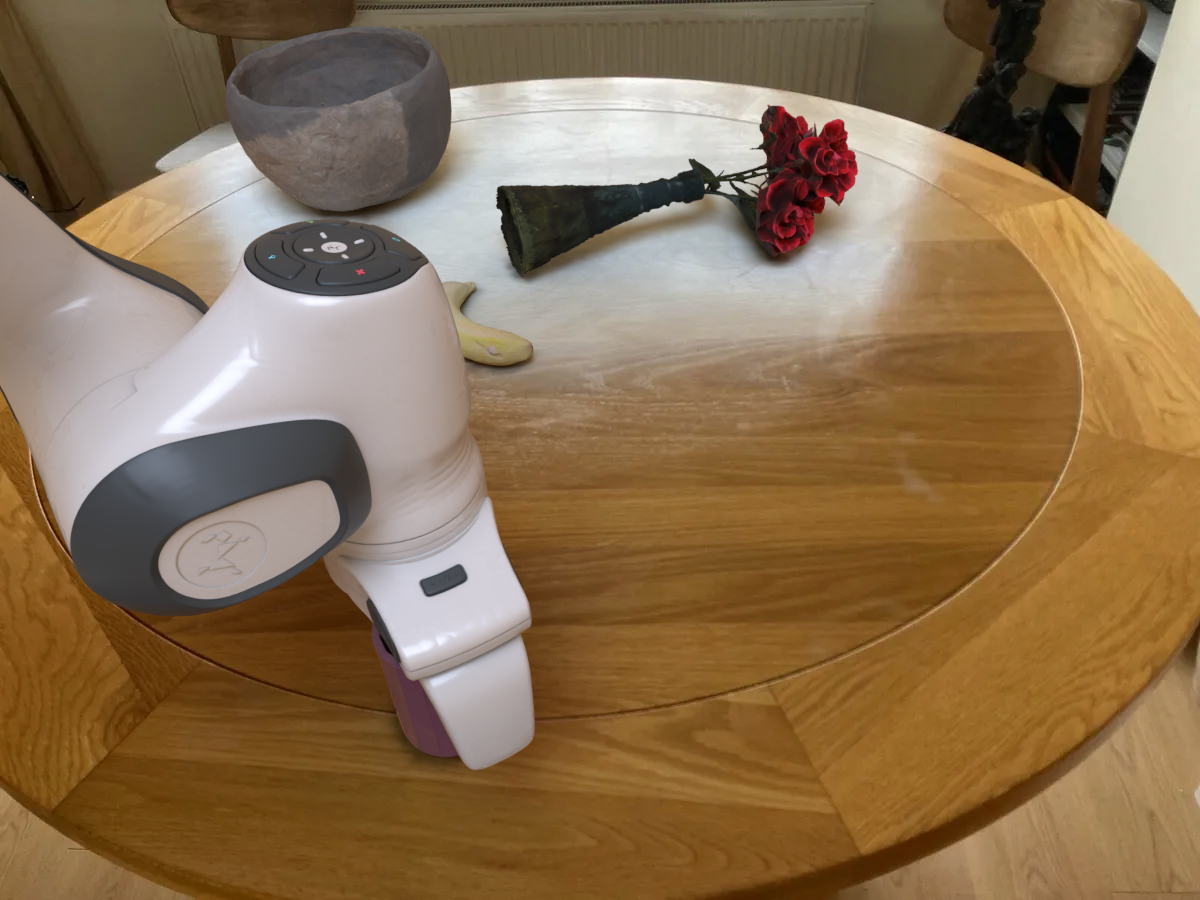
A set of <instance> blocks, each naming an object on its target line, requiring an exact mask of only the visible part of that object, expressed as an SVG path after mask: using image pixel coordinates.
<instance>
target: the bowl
mask: <svg viewBox="0 0 1200 900" xmlns="http://www.w3.org/2000/svg"><path fill="white" fill-rule="evenodd" d="M225 104H226V112H227V116H228V117H227V118H228V120H229V122H230V125H231V128H232V130H233V133H234V135H235V137H236V139H237V142H238V143H239V144H240V146H241V148H242V150H243V151H244V153H245V155H246V156H247V157H248V159H249V160H250V162H251V163H253V165H254V167H255V168H256V169H257V170H258V171H259V172H260V173H261V174H263V175H264V177H266V179H268V180H269V181H271V182H272V183H273V184H274V186H276V187H277V188H278V189H280V190H281V191H283V192H285V193H286V194H288V195H289V196H291V197H292V198H295V200H296V201H298V202H300V203H302V204H303V205H305V206H308V207H311V208H313V209H317V210H324V211H331V212H332V211H333V212H350V211H355V210H360V209H364V208H367V207H371V206H377V205H381V204H385V203H388V202H389V203H390V202H393V201H396V200H398V199H400V198H402V197H404V196H406V195H408V194H410V193H412V192H413V191H415V190H416V189H417V188H419V187H420V186H421V185H422V184H423V183H425V181H427V179H429V177H430V176H431V175H432V174H433V173H434V172H435V171H436V169H437V168H438V167H439V165H440V163H441V162H442V159H443V156H444V155H445V152H446V150H447V146H448V144H449V139H450V137H451V130H452V129H451V128H452V113H453V112H452V109H453V108H452V97H451V85H450V79H449V76H448V72H447V68H446V66H445V64H444V61H443V60H442V58H441V56H440V53H439V52H438V51H437V49H436V48H435V47H434V46H433V45H432V43H431V42H430V41H429V40H428V39H426V38H425V36H422V35H421V34H418V33H415V32H413V31H410V30H407V29H403V28H402V29H401V28H393V27H385V26H383V27H382V26H354V27H345V28H336V29H331V30H324V31H319V32H314V33H309V34H305V35H302V36H297V37H294V38H290V39H287V40H284V41H281V42H278V43H275V44H272V45H270V46H268V47H266V48H263V49H261V50H257V51H254V52H251V53H249V54H248V55H246V56H245V57H244V58H242V59H241V60H240V61H239V62H238V64H237V65H236V66H235V67H234V68H233V70H232V72H231V73H230V75H229V77H228V79H227V81H226V87H225Z"/></svg>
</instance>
